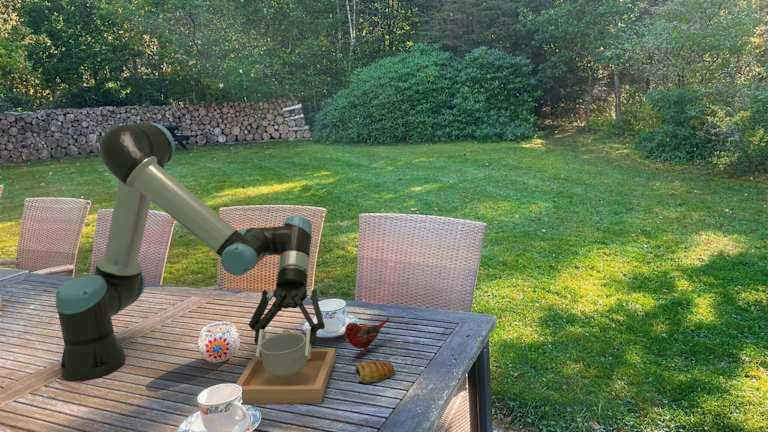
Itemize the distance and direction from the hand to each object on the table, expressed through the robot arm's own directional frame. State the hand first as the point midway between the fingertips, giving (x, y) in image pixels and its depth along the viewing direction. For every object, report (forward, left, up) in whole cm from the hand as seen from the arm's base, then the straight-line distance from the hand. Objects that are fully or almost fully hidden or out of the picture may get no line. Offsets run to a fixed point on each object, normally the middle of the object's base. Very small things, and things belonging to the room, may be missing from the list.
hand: (283, 357), depth 132 cm
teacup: (0, +2, -4) cm, 5 cm away
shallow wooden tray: (0, +3, -8) cm, 8 cm away
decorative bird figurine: (+18, +19, -8) cm, 27 cm away
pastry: (+20, +5, -8) cm, 22 cm away
